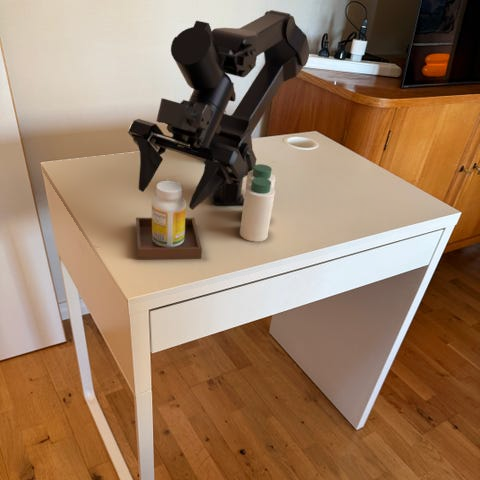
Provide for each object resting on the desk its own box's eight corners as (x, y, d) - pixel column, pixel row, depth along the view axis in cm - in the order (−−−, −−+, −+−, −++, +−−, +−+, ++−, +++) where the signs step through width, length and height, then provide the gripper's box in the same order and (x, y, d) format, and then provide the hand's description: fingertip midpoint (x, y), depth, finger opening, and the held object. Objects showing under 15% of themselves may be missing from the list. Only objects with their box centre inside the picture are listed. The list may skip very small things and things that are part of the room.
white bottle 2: (237, 227, 83) (243, 174, 76) (263, 227, 84) (272, 175, 77) (242, 241, 79) (250, 188, 73) (270, 241, 80) (280, 188, 74)
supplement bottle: (152, 248, 74) (152, 193, 67) (151, 231, 77) (150, 178, 71) (186, 248, 75) (188, 194, 68) (182, 231, 79) (184, 178, 72)
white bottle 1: (239, 212, 87) (245, 161, 81) (264, 212, 88) (272, 162, 82) (244, 225, 83) (251, 173, 77) (270, 225, 85) (280, 174, 78)
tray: (136, 227, 79) (135, 217, 77) (193, 227, 81) (194, 217, 80) (138, 259, 71) (137, 249, 70) (201, 258, 74) (201, 248, 72)
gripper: (132, 60, 66) (88, 157, 65) (247, 90, 61) (200, 196, 60) (163, 105, 76) (125, 190, 76) (262, 134, 71) (223, 225, 71)
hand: (165, 199), depth 70 cm, fingers open, 9 cm apart
